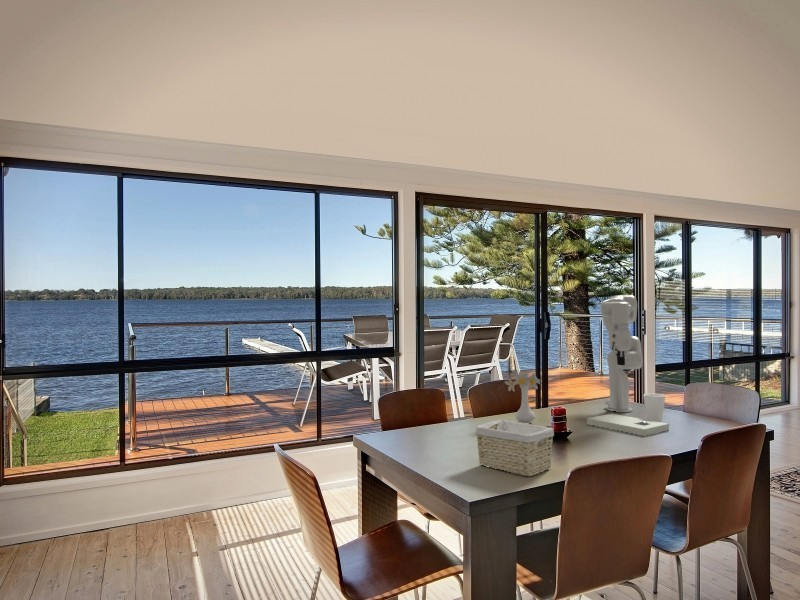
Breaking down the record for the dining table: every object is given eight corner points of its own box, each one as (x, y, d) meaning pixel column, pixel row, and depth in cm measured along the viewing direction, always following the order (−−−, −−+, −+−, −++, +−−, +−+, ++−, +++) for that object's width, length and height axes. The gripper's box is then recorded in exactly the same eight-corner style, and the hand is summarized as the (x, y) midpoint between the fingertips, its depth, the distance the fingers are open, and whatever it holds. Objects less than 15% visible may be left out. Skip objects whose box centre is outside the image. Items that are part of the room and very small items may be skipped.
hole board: (587, 424, 266) (587, 418, 266) (611, 419, 276) (611, 413, 276) (644, 436, 241) (644, 429, 241) (668, 430, 251) (668, 423, 251)
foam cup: (668, 424, 264) (668, 396, 264) (649, 424, 264) (648, 396, 264) (660, 419, 273) (659, 393, 273) (640, 420, 273) (640, 393, 273)
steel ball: (638, 425, 250) (638, 420, 254) (640, 432, 252) (640, 427, 255) (647, 424, 249) (647, 419, 252) (650, 431, 250) (649, 426, 253)
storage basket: (474, 465, 203) (473, 425, 203) (501, 456, 214) (500, 418, 214) (530, 480, 186) (529, 435, 186) (556, 469, 197) (555, 427, 197)
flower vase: (502, 423, 271) (500, 372, 272) (527, 418, 282) (526, 369, 283) (522, 428, 261) (521, 374, 261) (548, 422, 272) (547, 371, 272)
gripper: (617, 328, 267) (618, 366, 267) (636, 327, 275) (637, 364, 275) (603, 328, 274) (604, 365, 273) (623, 326, 282) (623, 363, 282)
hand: (621, 364), depth 274 cm, fingers closed
